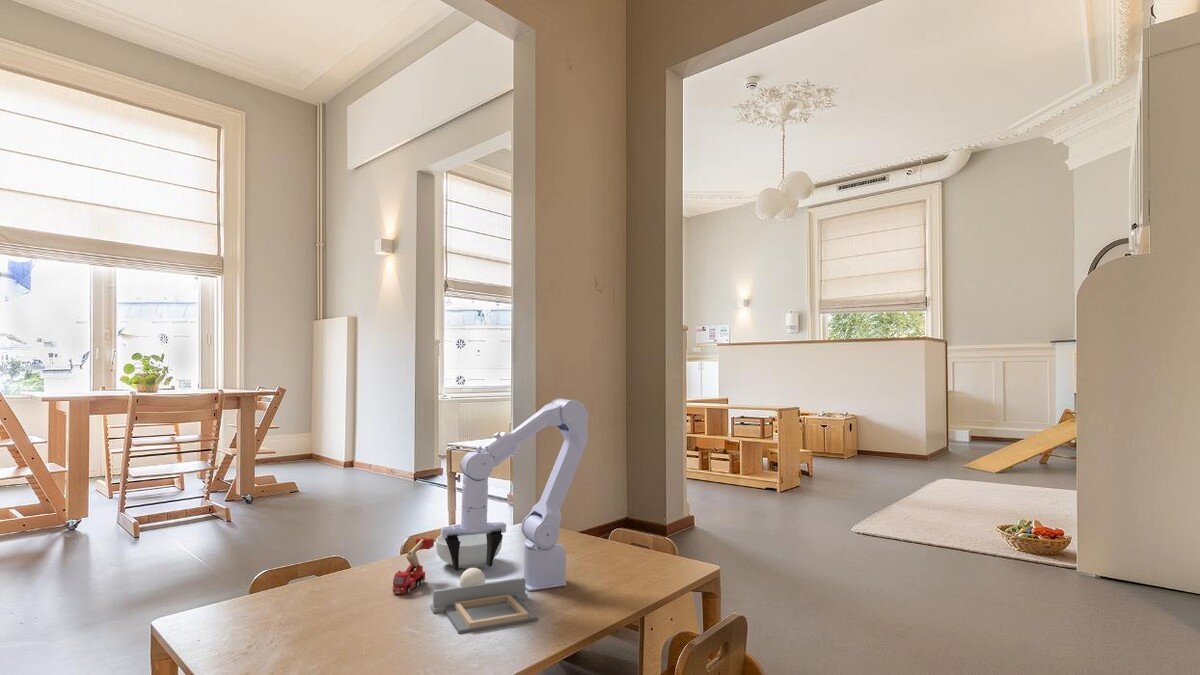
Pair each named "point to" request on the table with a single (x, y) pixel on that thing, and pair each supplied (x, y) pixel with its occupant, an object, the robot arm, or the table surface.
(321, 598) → the table surface
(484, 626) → the resting mat
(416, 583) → the toy fire truck
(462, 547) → the cereal bowl
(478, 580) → the ball
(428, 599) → the table surface
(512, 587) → the grey barrier bar
